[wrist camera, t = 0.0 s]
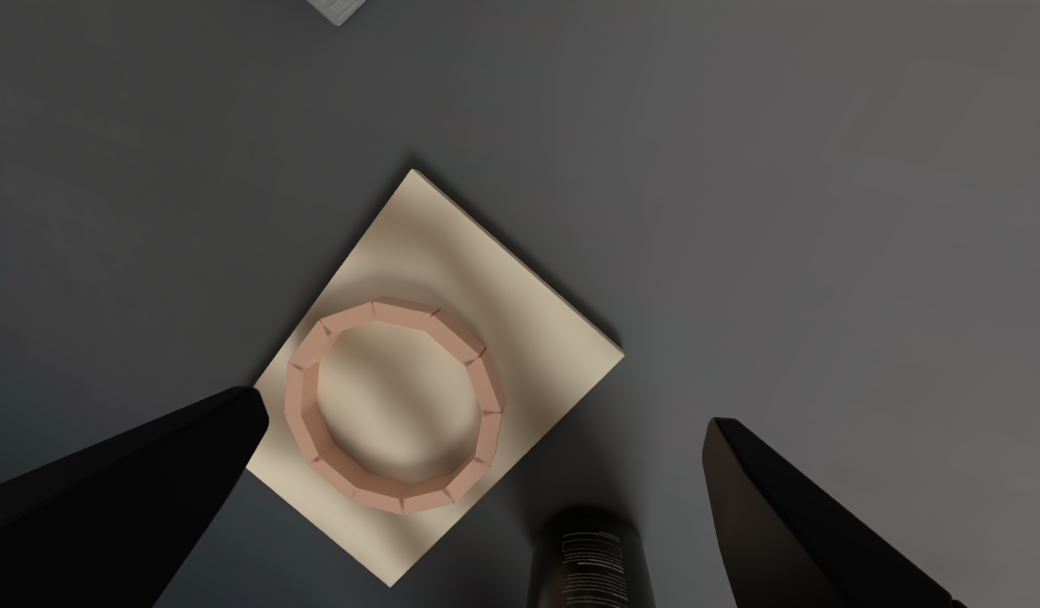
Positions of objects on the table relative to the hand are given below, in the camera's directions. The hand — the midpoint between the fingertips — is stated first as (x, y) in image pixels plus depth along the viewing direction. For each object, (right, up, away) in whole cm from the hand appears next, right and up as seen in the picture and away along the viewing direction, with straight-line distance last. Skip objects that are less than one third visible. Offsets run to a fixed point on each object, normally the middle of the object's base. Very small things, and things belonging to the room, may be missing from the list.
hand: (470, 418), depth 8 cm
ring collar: (-6, -4, +16) cm, 18 cm away
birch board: (-6, -3, +17) cm, 19 cm away
